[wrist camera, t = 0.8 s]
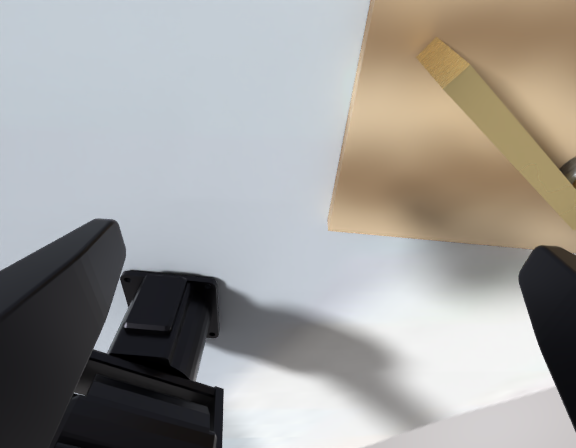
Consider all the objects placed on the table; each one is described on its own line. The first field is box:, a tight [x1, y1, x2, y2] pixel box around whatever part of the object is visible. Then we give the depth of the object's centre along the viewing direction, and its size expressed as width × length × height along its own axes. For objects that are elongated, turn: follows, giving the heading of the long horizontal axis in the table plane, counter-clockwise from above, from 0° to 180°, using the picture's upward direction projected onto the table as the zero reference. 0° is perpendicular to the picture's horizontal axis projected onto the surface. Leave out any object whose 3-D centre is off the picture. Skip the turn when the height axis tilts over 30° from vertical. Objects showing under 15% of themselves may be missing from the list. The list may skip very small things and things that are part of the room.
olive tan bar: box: [416, 37, 576, 231], centre depth 15 cm, size 12×3×4 cm, turn 50°
